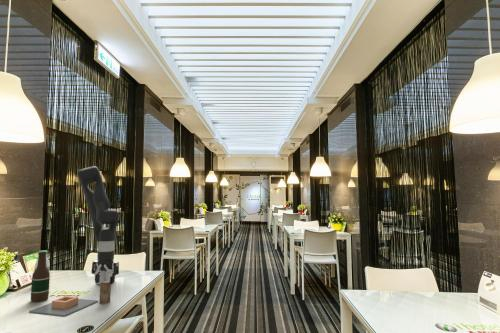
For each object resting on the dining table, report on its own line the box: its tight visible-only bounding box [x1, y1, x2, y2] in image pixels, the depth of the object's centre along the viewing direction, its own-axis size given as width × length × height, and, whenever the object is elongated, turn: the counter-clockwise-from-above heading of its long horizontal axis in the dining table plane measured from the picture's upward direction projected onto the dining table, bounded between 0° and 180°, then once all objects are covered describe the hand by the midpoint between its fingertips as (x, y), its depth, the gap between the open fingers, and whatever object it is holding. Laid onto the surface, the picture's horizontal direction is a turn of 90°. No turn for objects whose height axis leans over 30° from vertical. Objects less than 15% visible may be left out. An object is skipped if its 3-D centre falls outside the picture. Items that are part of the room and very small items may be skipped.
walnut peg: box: [98, 281, 112, 305], centre depth 154 cm, size 4×4×10 cm
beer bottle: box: [30, 250, 51, 303], centre depth 159 cm, size 8×8×24 cm
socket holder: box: [28, 295, 99, 317], centre depth 148 cm, size 20×20×4 cm
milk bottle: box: [33, 249, 51, 272], centre depth 186 cm, size 8×8×20 cm
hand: (104, 283), depth 154 cm, fingers open, 8 cm apart
